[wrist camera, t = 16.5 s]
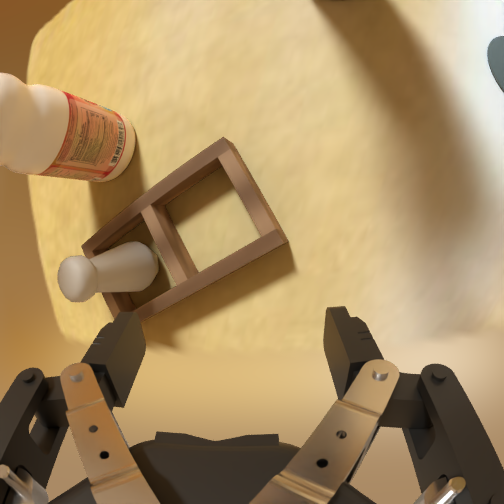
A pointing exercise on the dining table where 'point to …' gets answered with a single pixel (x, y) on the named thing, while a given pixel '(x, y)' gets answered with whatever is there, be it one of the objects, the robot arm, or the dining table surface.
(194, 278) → the caddy
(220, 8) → the dining table surface
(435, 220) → the dining table surface
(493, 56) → the cocktail glass
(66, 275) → the salt shaker
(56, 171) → the fruit juice
